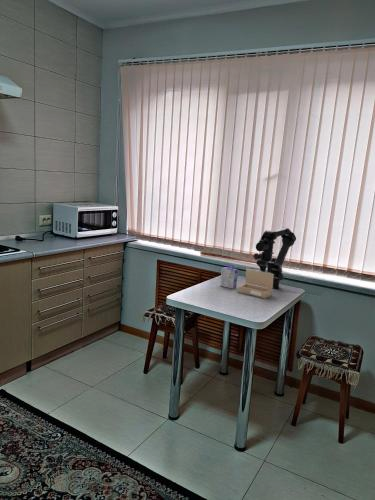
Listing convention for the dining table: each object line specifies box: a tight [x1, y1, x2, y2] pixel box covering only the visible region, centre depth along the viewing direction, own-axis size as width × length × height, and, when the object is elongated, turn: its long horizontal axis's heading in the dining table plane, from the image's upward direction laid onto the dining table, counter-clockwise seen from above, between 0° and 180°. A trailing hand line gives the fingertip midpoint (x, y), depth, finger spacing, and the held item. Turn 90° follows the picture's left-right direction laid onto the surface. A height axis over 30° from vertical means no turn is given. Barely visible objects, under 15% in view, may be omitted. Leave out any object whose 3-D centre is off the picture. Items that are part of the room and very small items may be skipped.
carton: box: [237, 283, 273, 300], centre depth 239 cm, size 10×18×4 cm, turn 54°
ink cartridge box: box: [219, 263, 239, 289], centre depth 251 cm, size 10×6×14 cm, turn 57°
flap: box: [244, 268, 274, 290], centre depth 243 cm, size 9×18×7 cm
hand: (265, 274), depth 248 cm, fingers open, 9 cm apart
